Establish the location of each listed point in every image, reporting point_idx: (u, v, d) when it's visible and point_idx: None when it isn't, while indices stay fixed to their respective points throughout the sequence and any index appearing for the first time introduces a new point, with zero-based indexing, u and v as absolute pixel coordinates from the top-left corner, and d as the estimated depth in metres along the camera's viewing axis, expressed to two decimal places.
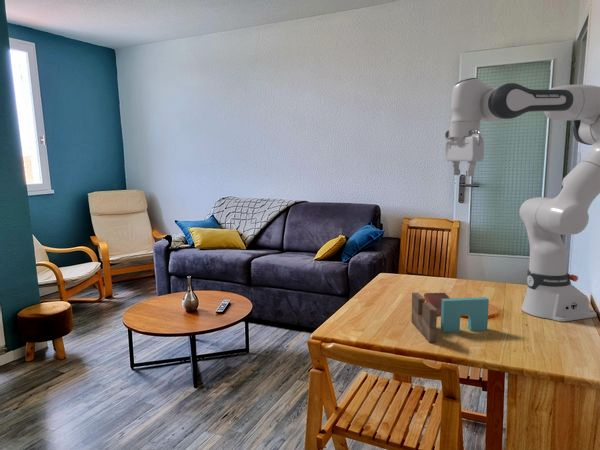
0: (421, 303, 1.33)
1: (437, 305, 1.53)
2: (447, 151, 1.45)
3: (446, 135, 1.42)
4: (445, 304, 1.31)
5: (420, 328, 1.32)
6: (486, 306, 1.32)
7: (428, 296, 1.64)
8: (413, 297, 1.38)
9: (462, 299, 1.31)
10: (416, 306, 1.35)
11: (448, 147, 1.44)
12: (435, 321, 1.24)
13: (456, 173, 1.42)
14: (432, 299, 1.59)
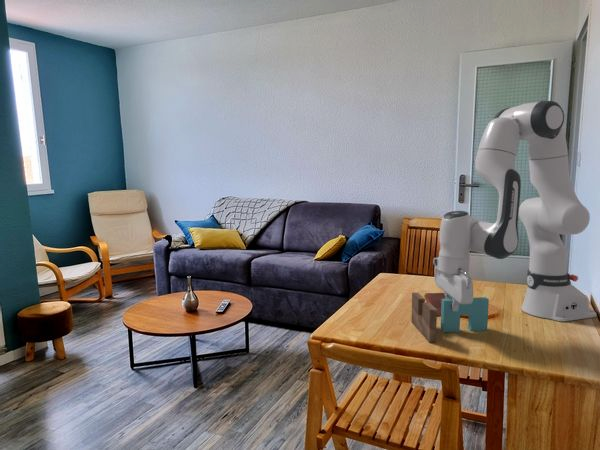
0: (421, 303, 1.33)
1: (437, 305, 1.53)
2: (436, 276, 1.39)
3: (435, 262, 1.36)
4: (445, 304, 1.31)
5: (420, 328, 1.32)
6: (486, 306, 1.32)
7: (428, 296, 1.64)
8: (413, 297, 1.38)
9: None
10: (416, 306, 1.35)
11: (437, 273, 1.38)
12: (435, 321, 1.24)
13: None
14: (432, 299, 1.59)
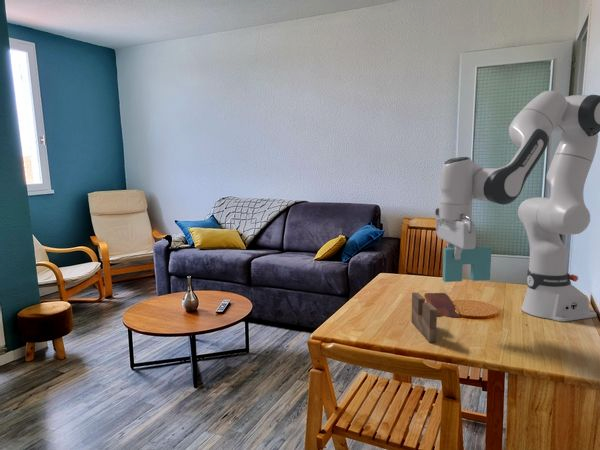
0: (421, 303, 1.33)
1: (438, 305, 1.53)
2: (438, 228, 1.36)
3: (436, 212, 1.34)
4: (447, 253, 1.28)
5: (420, 328, 1.32)
6: (489, 255, 1.29)
7: (429, 296, 1.64)
8: (413, 297, 1.38)
9: None
10: (416, 306, 1.35)
11: (439, 224, 1.36)
12: (435, 321, 1.24)
13: None
14: (432, 299, 1.59)
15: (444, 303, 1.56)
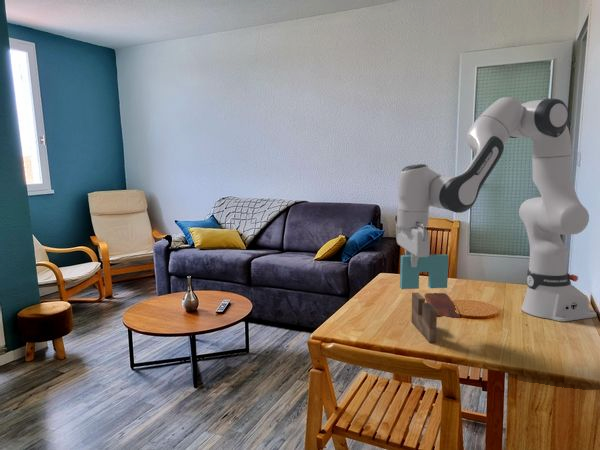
0: (421, 303, 1.33)
1: (438, 305, 1.53)
2: (397, 234, 1.36)
3: (395, 219, 1.33)
4: (404, 260, 1.27)
5: (420, 328, 1.32)
6: (446, 263, 1.29)
7: (429, 296, 1.64)
8: (413, 297, 1.38)
9: None
10: (416, 306, 1.35)
11: (398, 231, 1.35)
12: (435, 321, 1.24)
13: None
14: (433, 300, 1.59)
15: (444, 303, 1.55)
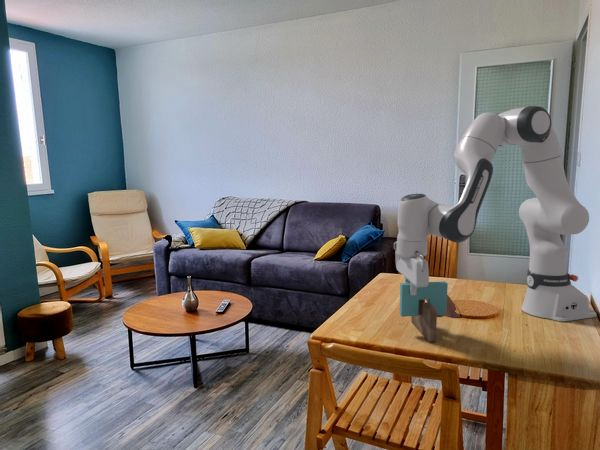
0: (421, 303, 1.33)
1: None
2: (397, 261, 1.37)
3: (395, 246, 1.34)
4: (403, 288, 1.29)
5: (420, 328, 1.32)
6: (445, 290, 1.30)
7: None
8: None
9: None
10: None
11: (398, 257, 1.36)
12: (435, 321, 1.24)
13: None
14: None
15: None
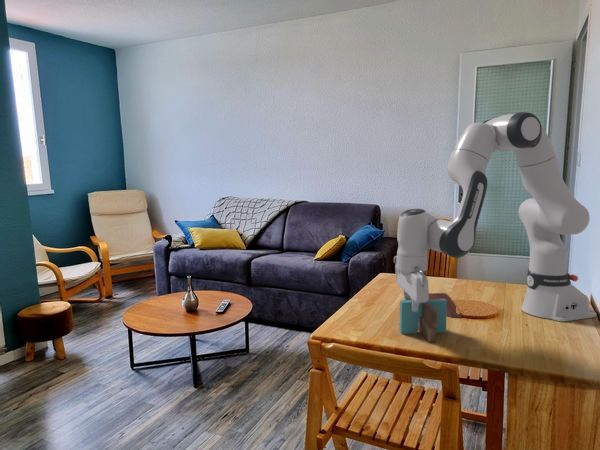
0: None
1: None
2: (397, 275, 1.38)
3: (395, 260, 1.35)
4: (403, 306, 1.30)
5: (420, 328, 1.32)
6: (444, 308, 1.31)
7: (429, 297, 1.63)
8: None
9: None
10: None
11: (397, 271, 1.37)
12: (435, 321, 1.24)
13: None
14: None
15: None
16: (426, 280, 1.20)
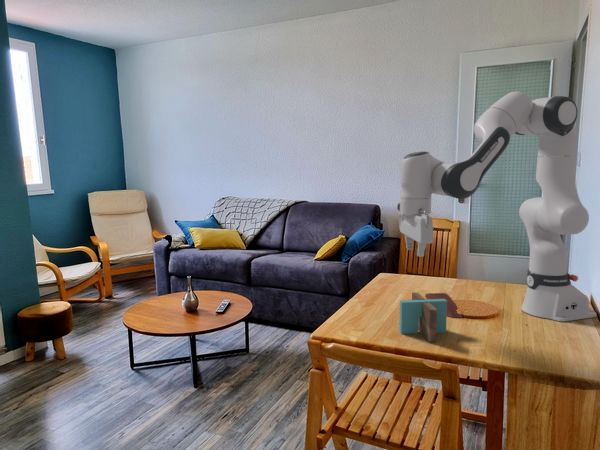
0: None
1: None
2: (400, 223, 1.36)
3: (398, 207, 1.33)
4: (403, 306, 1.30)
5: (420, 328, 1.32)
6: (444, 308, 1.31)
7: (430, 297, 1.63)
8: (413, 297, 1.38)
9: (420, 301, 1.31)
10: None
11: (401, 219, 1.35)
12: (435, 321, 1.24)
13: (409, 248, 1.33)
14: None
15: None
16: (430, 220, 1.19)
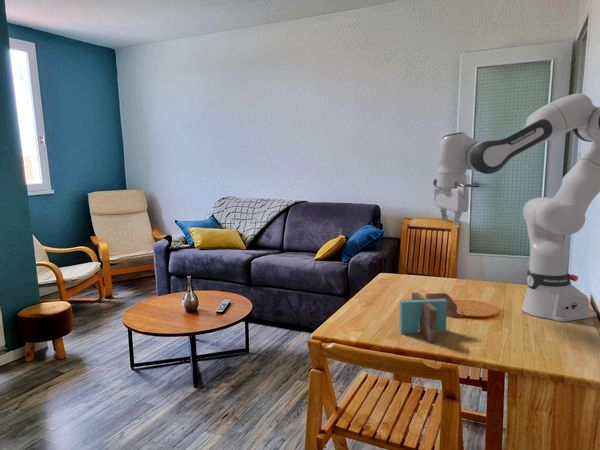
0: None
1: None
2: (435, 197, 1.53)
3: (434, 183, 1.50)
4: (403, 306, 1.30)
5: (420, 328, 1.32)
6: (444, 308, 1.31)
7: (430, 297, 1.63)
8: (413, 297, 1.38)
9: (420, 301, 1.31)
10: None
11: (436, 193, 1.52)
12: (435, 321, 1.24)
13: (444, 219, 1.50)
14: None
15: None
16: (466, 192, 1.36)
